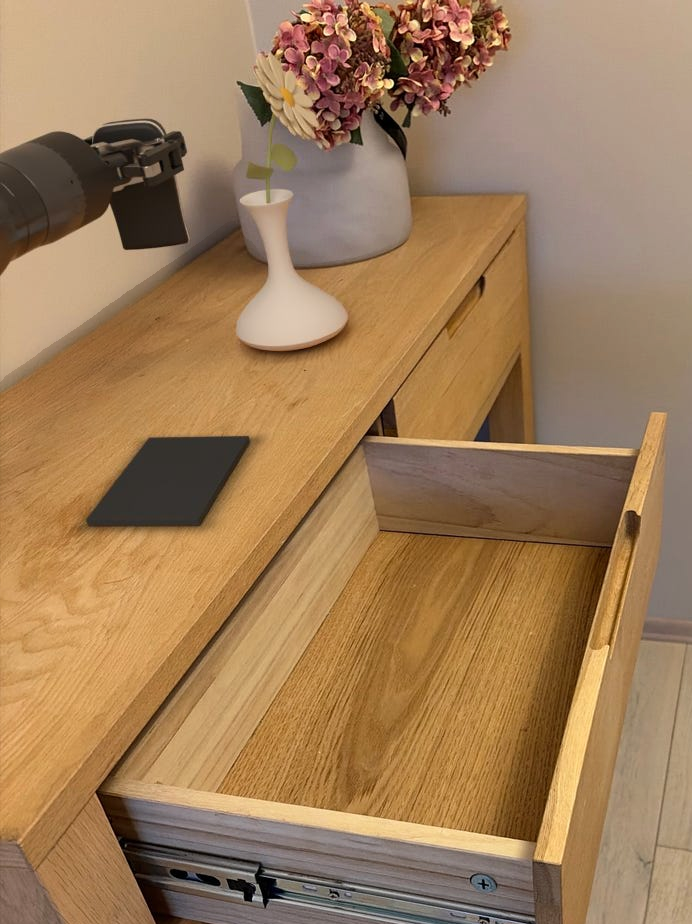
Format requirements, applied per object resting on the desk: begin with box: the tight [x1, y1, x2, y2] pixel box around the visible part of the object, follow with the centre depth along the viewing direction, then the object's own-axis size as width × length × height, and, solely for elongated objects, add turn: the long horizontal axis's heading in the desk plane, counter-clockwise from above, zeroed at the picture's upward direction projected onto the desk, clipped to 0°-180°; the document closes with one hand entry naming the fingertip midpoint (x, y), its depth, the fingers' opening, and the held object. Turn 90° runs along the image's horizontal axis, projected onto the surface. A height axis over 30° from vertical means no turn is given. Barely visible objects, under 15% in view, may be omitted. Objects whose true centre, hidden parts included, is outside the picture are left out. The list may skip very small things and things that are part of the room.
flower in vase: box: [235, 52, 349, 352], centre depth 93 cm, size 13×11×25 cm
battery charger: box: [92, 118, 191, 251], centre depth 97 cm, size 7×4×11 cm, turn 97°
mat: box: [85, 435, 251, 527], centre depth 79 cm, size 9×13×1 cm
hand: (145, 142), depth 96 cm, fingers closed on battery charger, 7 cm apart
